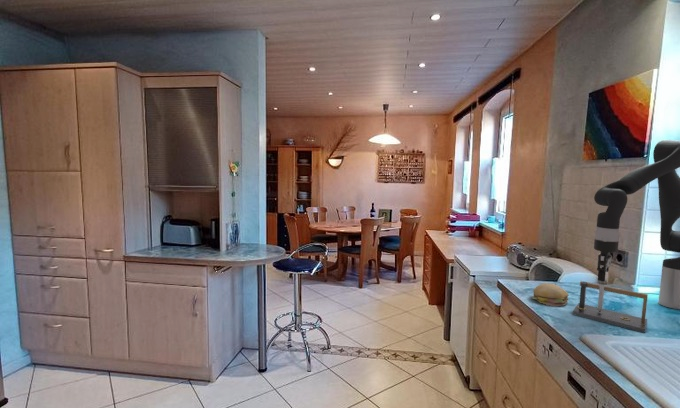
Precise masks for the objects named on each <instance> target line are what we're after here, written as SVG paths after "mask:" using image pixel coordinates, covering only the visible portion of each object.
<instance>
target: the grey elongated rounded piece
mask: <svg viewBox="0 0 680 408" xmlns="http://www.w3.org/2000/svg"><path fill="white" fill-rule="evenodd" d="M609 272H610V271H608V272H607V271H606V274H605V281H604V282H602V281H598V280H597V283H596V284H598V285H599V286H600V288H599V289H598V299H597V300H598V301H597V307H598V309H597V311H599V312H602V309H604V306H603V305H604V295H605V291H604V287H606V286H608V284H609V283H608V282H609Z"/></svg>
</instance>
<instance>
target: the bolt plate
mask: <svg viewBox="0 0 680 408" xmlns="http://www.w3.org/2000/svg"><path fill="white" fill-rule="evenodd" d="M579 286H580V294H579V303H577V305H576V306H575V307H574V308H573V310H572V315H574V316H578V317H581V318H585V319H589V320H593V321H598V322H601V323H604V324H608V325H612V326H616V327H621V328H625V329H628V330H632V331H634V332H635V331H636V332H639V333H643V334H645V333H646V329H647V328H646V327H647V323H648V319H647V318H646V313H647V304H648V296H649V293H643V292H638V291H633V290H627V289H622V288H618V287H617V288H616V287H612V286H609V285H606V287H604V292H610V293H614V294H619V295H624V296H629V297H633V298H639V299H643V301H642V308H641V309H642V311H641V317H640V316H635V315H630V314H627V313H622V312H618V311H613V310H609V309H605V308H602V312H599V311H597V309H598V306H597V307H596V306H593V305H588V304H586V303H585V302H586V296H587V295H586V294H587V288H589V289H594V290H595V289H596V290H599V288H600V286H599V284H598V283H593V282H587V281H582V280H580V282H579Z"/></svg>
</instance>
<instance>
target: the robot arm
mask: <svg viewBox="0 0 680 408" xmlns="http://www.w3.org/2000/svg"><path fill="white" fill-rule="evenodd" d="M652 153H653V154H652V155H653V163H651V164H647V165H644V166H641V167H638V168H635V169H634V170H631V171H629V173H627V174H625V175H624V176H622V177H621V178H619V179H618V180H616V181H613V182H611V183H609V184H606V185H605V186H602V187H601V188H599V189H597V191H596V192H595V194H594V197H593V198H594V202H595V203H596V204H597V205H599V206H604V207H607V208H606V210H605V211H603V212H599V213H598V214H597V218H596V227H595V228H596V229H595V231H594V240H593V241H594V242H593V250H596V251H597V252H600V253H599V254H598V255H597V264H596V265H597V268H596V271H597V272H598V274H597V281H602V282H604V281H605V274H606V271H607V272H610V271H609V268H610V266H611V263H612V258H613V256H612V254H613V253H614V254H615V253H617V252H618V250H619V241H620V223H621V222H620V221H621V217H622V216H623V213H624V210H625V209H626V206H627V204H628V195H632V194H634V193H635V194H636V192H638V191H639V190H641V189H642V188H644V187H645V186H647V185H648V184H650V183H651V182H653V181H654V180H656V179H657V185H658V205H659V206H658V207H659V214H660V230H659V231H660V235H659V241H660V242H659V243H660V247H661V249H662V250H664V251H668V252H674V253H680V230H674V229H673V225H674V224H675V223H676V222H677V220H678V219H680V175H679V174H678V173H677V171H676V170H677V169H678V168H679V169H680V140H676V139H674V140H673V139H662V140H660V141H658V142H657V143H656V145H655V146H654V148H653V152H652ZM657 303H658V304H659V305H661V306H663V307H666V308H669V309H674V310H680V256H679V257H674V258H665V259H663V260H662V267H661V275H660V284H659V294H658V302H657Z"/></svg>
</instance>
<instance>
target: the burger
mask: <svg viewBox="0 0 680 408" xmlns="http://www.w3.org/2000/svg"><path fill="white" fill-rule="evenodd" d="M532 293H533V294H532V295H533V296H532V297H531V299H533V300H536V301H537V302H539V303H540V304H542V303H543V305H545V304H546V306H549V307H550V306H551V307H564V306H566V305H567V304H568V301H569V293H568V292H567V291H566V290H565V289H564V288H563V287H561V286H559V285H557V284H554V283H550V282H549V283H548V282H546V283H540V284H538V285H537V286H536V287H534V288H533V290H532Z"/></svg>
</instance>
